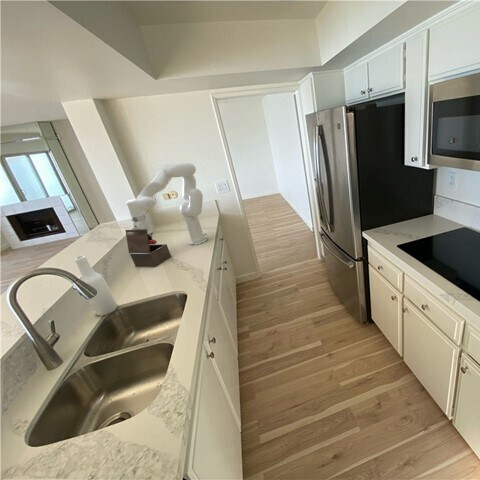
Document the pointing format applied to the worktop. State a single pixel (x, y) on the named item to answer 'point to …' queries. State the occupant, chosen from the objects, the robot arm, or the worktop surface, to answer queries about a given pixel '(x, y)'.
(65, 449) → the worktop surface
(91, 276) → the alcohol
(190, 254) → the worktop surface
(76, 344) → the worktop surface
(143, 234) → the bin lid
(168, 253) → the bin
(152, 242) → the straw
